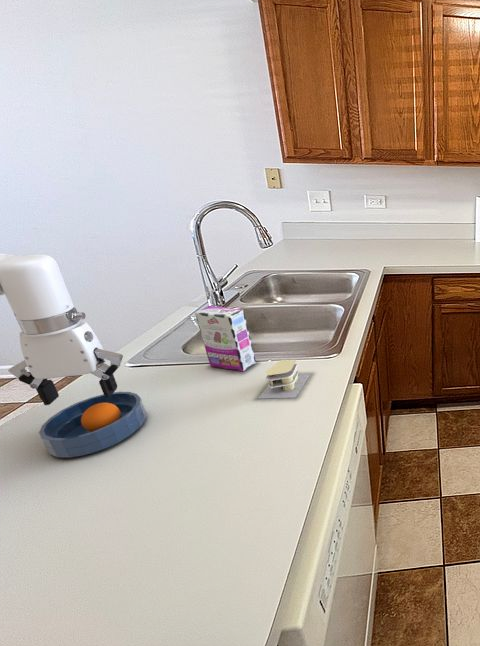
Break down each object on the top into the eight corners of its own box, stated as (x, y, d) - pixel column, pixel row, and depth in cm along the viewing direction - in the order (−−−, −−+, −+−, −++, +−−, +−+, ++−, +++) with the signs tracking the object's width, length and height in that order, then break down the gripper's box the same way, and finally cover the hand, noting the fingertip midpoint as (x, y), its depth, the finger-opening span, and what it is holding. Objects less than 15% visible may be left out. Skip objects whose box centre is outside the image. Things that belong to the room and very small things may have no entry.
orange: (73, 437, 80) (74, 412, 78) (90, 419, 85) (92, 395, 84) (110, 439, 82) (112, 415, 80) (124, 421, 87) (127, 398, 86)
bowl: (29, 468, 75) (18, 447, 73) (78, 417, 89) (69, 398, 87) (126, 450, 79) (118, 430, 77) (159, 404, 93) (152, 386, 91)
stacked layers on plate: (276, 375, 104) (272, 357, 102) (310, 374, 104) (307, 356, 102) (257, 398, 95) (253, 379, 93) (295, 397, 95) (291, 378, 93)
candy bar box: (257, 362, 110) (244, 308, 104) (243, 372, 105) (229, 316, 99) (224, 357, 112) (209, 304, 106) (209, 367, 108) (193, 312, 102)
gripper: (116, 308, 80) (141, 380, 86) (5, 317, 75) (40, 393, 81) (95, 324, 73) (124, 401, 79) (-28, 335, 68) (13, 416, 75)
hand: (82, 397), depth 80 cm, fingers open, 9 cm apart
